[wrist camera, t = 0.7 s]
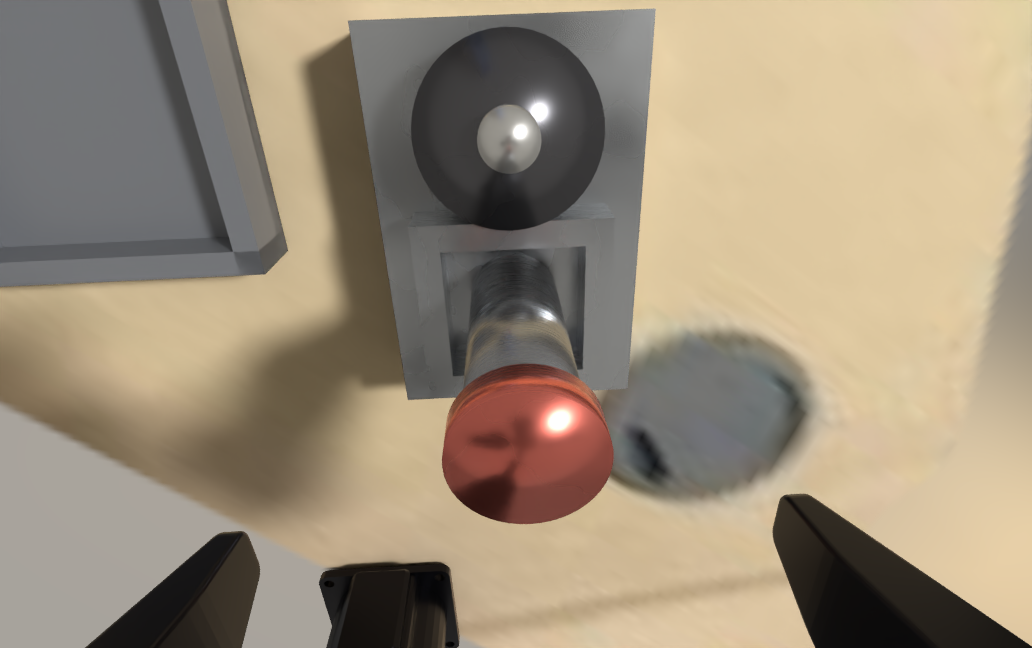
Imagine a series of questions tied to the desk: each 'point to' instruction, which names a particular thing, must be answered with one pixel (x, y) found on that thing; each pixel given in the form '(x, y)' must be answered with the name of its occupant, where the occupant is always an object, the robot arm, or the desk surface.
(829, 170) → the desk surface
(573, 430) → the lock pin
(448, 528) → the desk surface
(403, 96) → the tensioner block
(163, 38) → the tray
